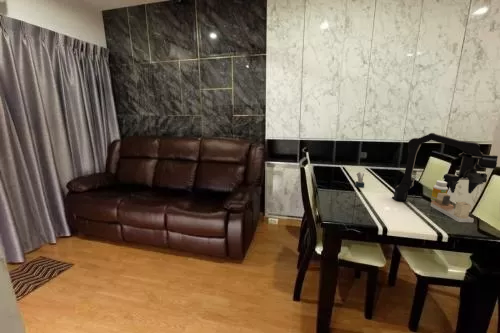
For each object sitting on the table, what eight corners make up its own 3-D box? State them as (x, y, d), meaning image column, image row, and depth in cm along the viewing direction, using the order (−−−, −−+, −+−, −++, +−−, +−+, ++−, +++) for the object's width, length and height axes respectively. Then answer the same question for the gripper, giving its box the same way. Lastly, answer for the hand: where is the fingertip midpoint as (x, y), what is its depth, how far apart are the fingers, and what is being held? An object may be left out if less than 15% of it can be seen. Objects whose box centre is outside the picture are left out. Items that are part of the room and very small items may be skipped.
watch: (362, 185, 178) (364, 171, 176) (364, 188, 171) (366, 174, 168) (354, 184, 180) (356, 170, 177) (355, 187, 172) (357, 173, 170)
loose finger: (441, 207, 136) (444, 195, 134) (435, 203, 140) (438, 192, 138) (448, 207, 135) (451, 195, 134) (442, 204, 140) (445, 193, 138)
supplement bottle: (438, 203, 146) (443, 183, 143) (427, 199, 153) (431, 180, 149) (447, 202, 148) (452, 183, 145) (436, 198, 154) (440, 179, 151)
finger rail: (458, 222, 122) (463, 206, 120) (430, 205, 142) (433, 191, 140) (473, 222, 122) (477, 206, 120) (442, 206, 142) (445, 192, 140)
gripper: (462, 169, 118) (455, 198, 122) (500, 169, 118) (492, 199, 122) (445, 163, 129) (439, 190, 133) (480, 164, 129) (473, 191, 133)
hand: (460, 193), depth 130 cm, fingers open, 9 cm apart
